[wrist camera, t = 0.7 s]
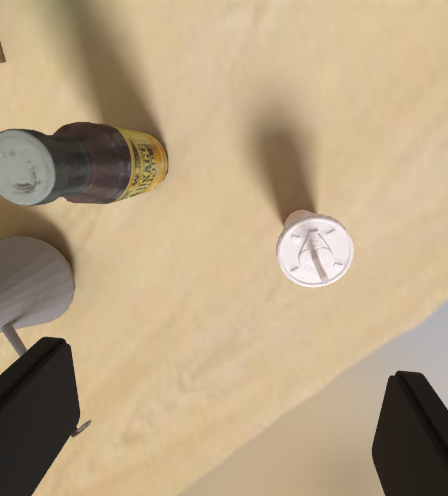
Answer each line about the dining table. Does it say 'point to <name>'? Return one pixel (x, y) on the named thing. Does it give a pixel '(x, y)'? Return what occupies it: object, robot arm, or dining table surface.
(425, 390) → the robot arm
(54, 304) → the coffee pot
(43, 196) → the sauce bottle
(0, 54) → the bottom block
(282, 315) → the dining table surface
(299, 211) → the smoothie
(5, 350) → the dining table surface
